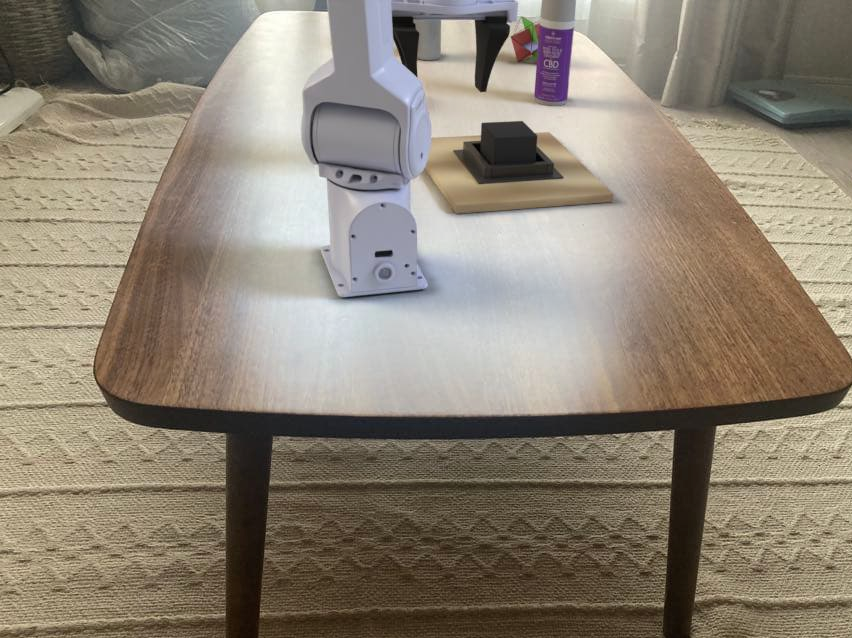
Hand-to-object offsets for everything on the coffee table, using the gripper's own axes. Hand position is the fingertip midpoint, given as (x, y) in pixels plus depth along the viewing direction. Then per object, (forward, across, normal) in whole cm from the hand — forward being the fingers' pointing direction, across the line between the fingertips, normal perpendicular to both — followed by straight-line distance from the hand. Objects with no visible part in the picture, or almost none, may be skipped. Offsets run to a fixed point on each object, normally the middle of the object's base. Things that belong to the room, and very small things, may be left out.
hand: (446, 90), depth 101 cm
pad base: (+9, -7, +1) cm, 12 cm away
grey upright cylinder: (+10, -10, -47) cm, 49 cm away
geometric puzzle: (+9, -26, -43) cm, 51 cm away
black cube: (+8, -7, +1) cm, 11 cm away
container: (+10, -22, -24) cm, 34 cm away
